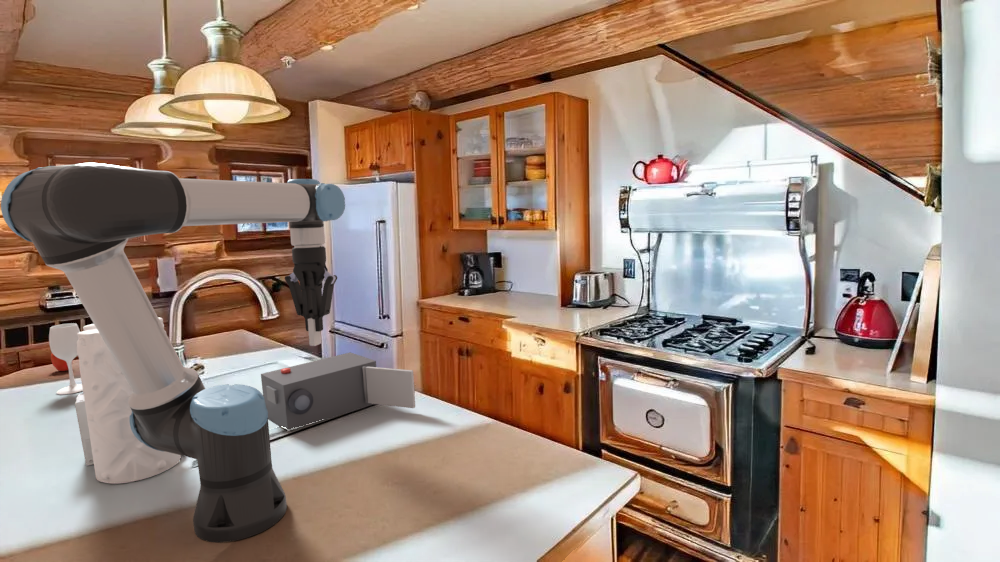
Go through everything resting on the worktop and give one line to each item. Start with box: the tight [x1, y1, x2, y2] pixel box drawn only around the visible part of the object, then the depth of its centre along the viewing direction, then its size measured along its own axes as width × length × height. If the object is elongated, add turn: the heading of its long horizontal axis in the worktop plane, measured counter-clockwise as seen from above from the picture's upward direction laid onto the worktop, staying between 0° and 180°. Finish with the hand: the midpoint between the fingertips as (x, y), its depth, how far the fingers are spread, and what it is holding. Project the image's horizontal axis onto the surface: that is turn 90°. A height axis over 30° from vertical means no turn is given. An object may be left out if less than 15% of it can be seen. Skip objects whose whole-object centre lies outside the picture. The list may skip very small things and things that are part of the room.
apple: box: [50, 352, 74, 372], centre depth 198 cm, size 6×6×8 cm
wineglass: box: [48, 322, 83, 396], centre depth 175 cm, size 9×9×21 cm
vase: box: [77, 316, 182, 485], centre depth 119 cm, size 17×16×32 cm
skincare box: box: [74, 393, 94, 466], centre depth 126 cm, size 8×6×15 cm
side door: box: [362, 366, 416, 409], centre depth 148 cm, size 2×15×10 cm, turn 69°
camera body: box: [260, 351, 377, 429], centre depth 149 cm, size 16×27×13 cm, turn 134°
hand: (315, 344), depth 133 cm, fingers closed
